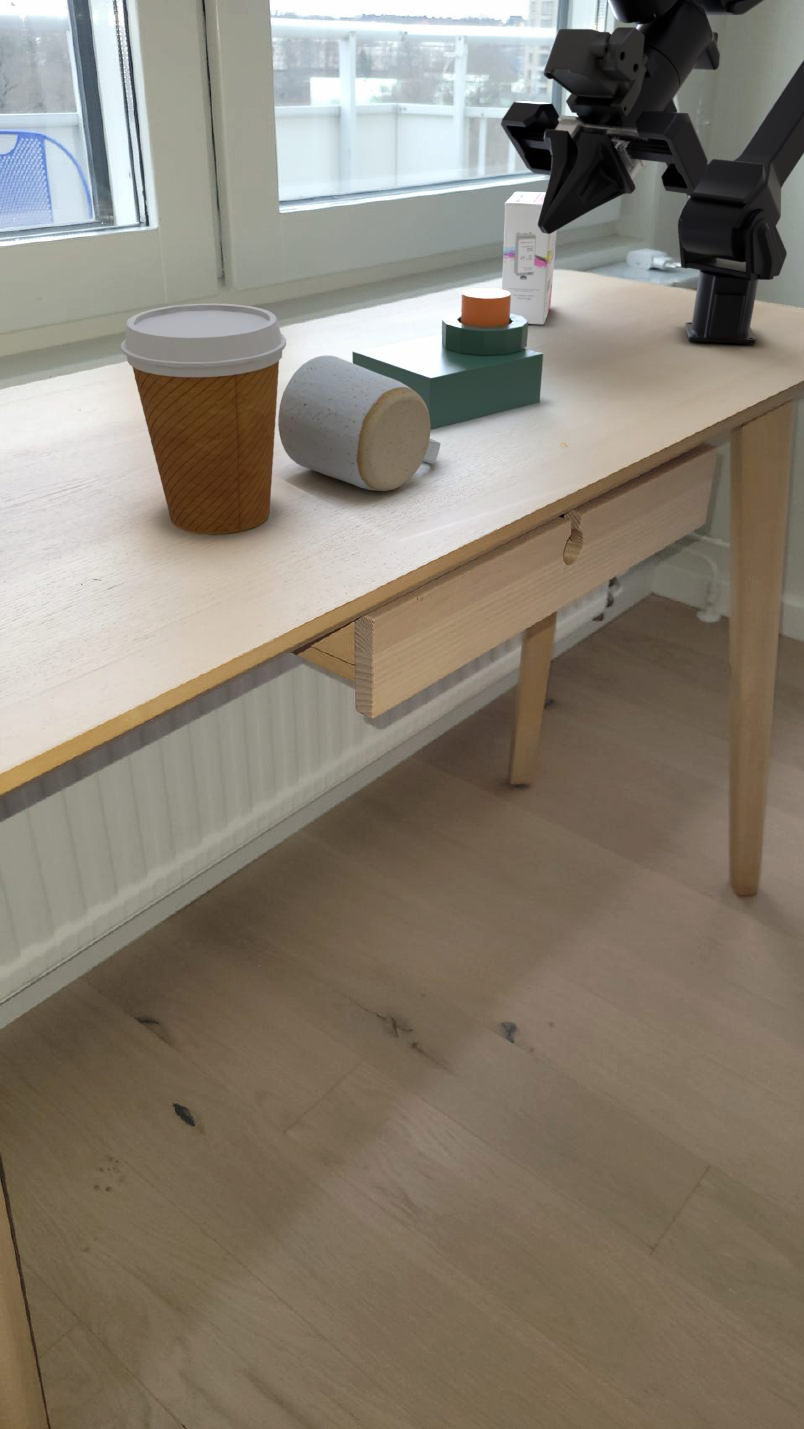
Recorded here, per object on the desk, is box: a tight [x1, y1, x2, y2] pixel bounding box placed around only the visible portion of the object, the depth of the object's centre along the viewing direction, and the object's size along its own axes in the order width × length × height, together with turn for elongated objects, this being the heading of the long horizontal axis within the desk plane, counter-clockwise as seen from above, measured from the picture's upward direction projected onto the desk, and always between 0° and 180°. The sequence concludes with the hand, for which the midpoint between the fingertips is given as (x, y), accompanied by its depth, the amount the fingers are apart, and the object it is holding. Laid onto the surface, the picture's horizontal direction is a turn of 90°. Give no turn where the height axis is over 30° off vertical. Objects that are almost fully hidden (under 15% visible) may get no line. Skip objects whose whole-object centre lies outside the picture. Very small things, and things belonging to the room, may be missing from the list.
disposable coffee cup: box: [120, 303, 287, 535], centre depth 65 cm, size 10×10×12 cm
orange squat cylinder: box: [460, 287, 511, 327], centre depth 88 cm, size 4×4×2 cm
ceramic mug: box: [277, 355, 441, 492], centre depth 72 cm, size 11×8×8 cm
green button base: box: [351, 311, 544, 430], centre depth 88 cm, size 14×10×6 cm
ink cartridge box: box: [501, 191, 558, 325], centre depth 112 cm, size 9×5×15 cm, turn 168°
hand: (542, 230), depth 88 cm, fingers closed
